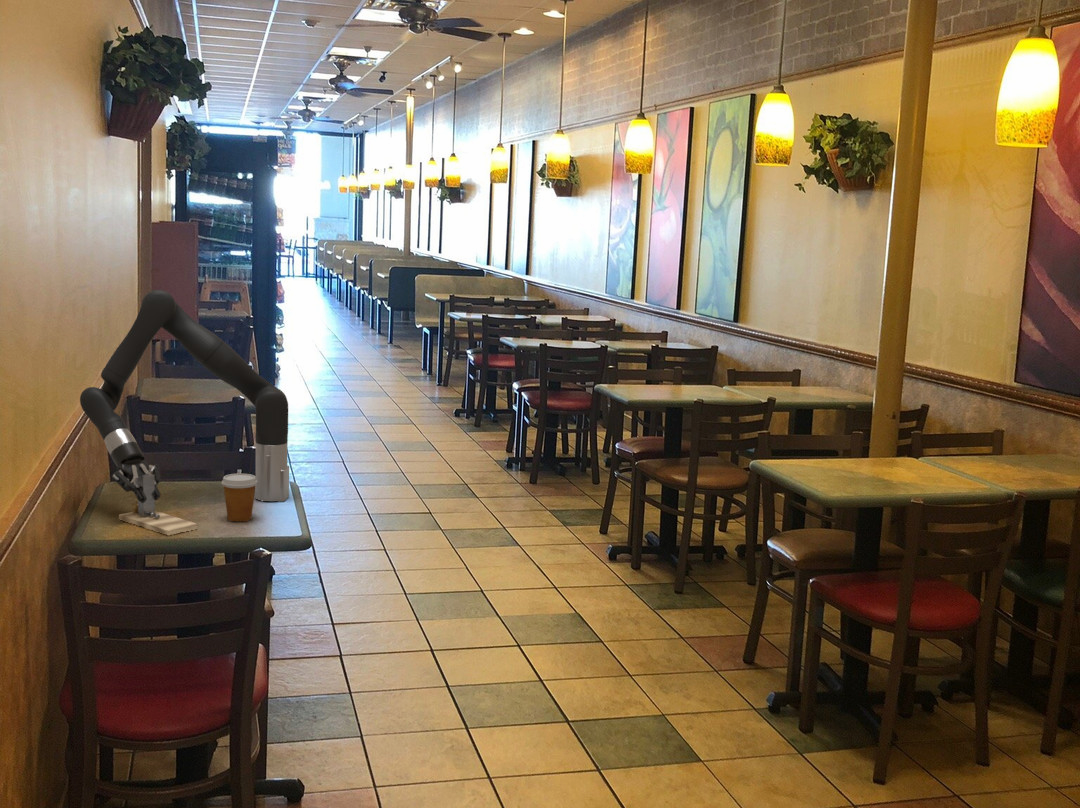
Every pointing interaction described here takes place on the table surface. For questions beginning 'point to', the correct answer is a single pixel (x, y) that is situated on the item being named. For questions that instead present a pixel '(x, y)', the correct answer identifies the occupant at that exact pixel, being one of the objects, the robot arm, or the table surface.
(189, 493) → the table surface
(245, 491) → the disposable coffee cup
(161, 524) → the rail
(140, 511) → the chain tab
